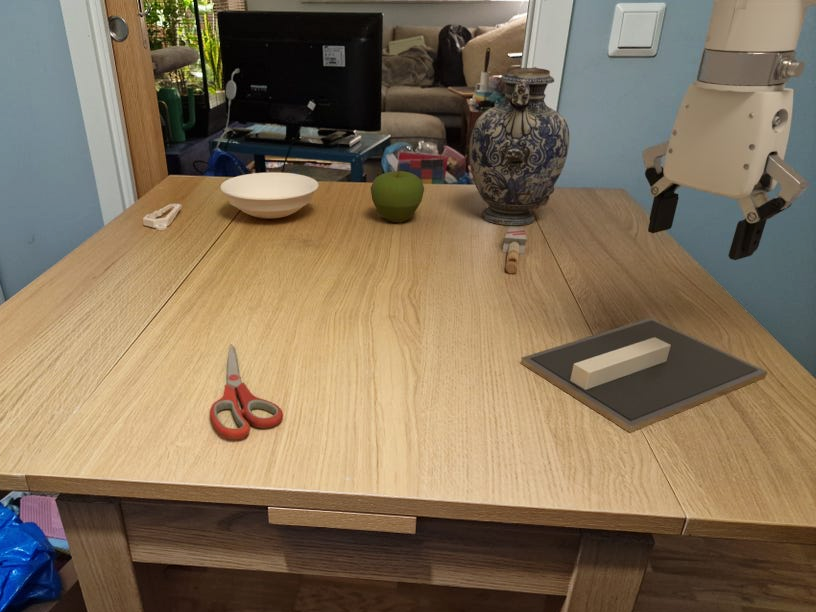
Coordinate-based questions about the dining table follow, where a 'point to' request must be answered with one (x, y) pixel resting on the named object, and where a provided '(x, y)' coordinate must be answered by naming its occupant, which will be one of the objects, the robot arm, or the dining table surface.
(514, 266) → the paintbrush
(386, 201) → the apple
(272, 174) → the bowl
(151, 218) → the stepped key frame
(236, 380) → the scissors
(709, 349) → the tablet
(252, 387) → the dining table surface
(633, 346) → the beige rectangular block
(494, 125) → the decorative vase
